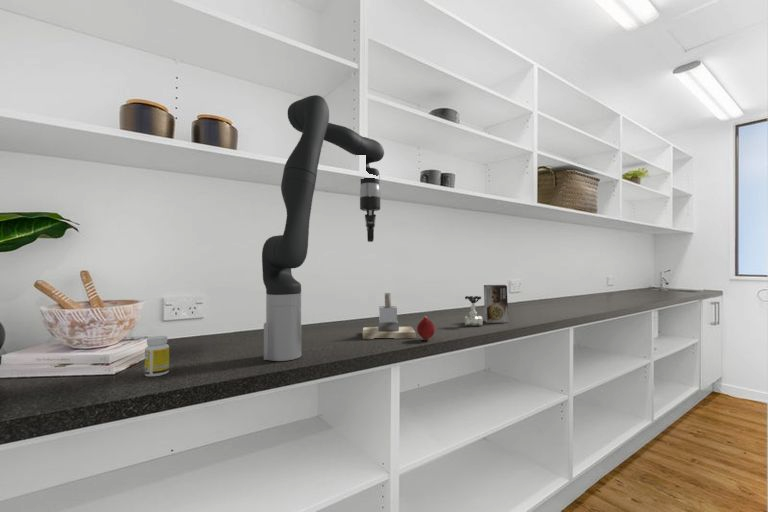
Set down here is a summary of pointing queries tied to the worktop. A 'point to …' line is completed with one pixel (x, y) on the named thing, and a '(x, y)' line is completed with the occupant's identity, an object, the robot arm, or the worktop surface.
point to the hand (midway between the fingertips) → (370, 240)
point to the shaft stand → (388, 327)
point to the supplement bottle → (156, 356)
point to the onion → (426, 328)
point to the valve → (473, 313)
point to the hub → (387, 314)
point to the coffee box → (495, 303)
